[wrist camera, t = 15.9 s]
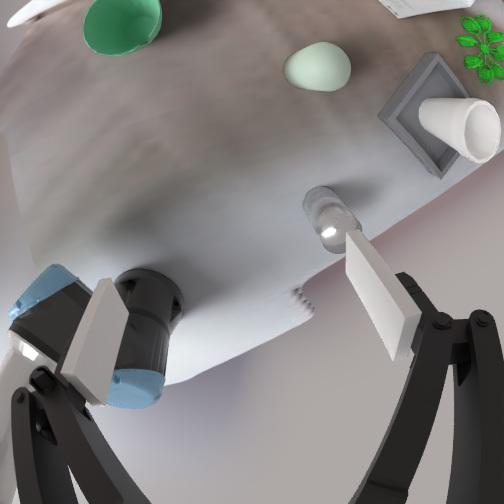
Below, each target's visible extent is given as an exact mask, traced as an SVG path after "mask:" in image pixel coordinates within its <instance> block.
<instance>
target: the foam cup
mask: <svg viewBox="0 0 504 504" xmlns="http://www.w3.org/2000/svg"><path fill="white" fill-rule="evenodd" d="M419 120H420V123H421V125H422V126H423V127H424V129H425V130H427V131H428V132H430V133H431V134H433V135H434V136H436V137H437V138H439V139H441V140H442V141H444V142H445V143H447V144H448V145H449V146H451V147H452V148H454V149H455V150H457V151H458V152H459V154H460V155H462V156H464V157H466V158H468V159H470V160H472V161H474V162H476V163H478V164H479V163H484V162H487V161H488V160H489V159H491V158H492V157H493V156H494V155H495V153H496V150H497V148H498V146H499V144H500V137H501V125H500V119H499V116H498V114H497V112H496V110H495V108H494V107H493V106H492V105H491V104H489V103H488V102H487V101H484V100H481V99H477V98H466V99H460V98H427V99H426V100H425V101H423V102H422V104H421V106H420V108H419Z"/></svg>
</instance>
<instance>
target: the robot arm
mask: <svg viewBox="0 0 504 504" xmlns="http://www.w3.org/2000/svg"><path fill="white" fill-rule="evenodd" d="M346 274H347V276H348V278H349V280H350V281H351V283H352V285H353V287H354V288H355V290H356V292H357V294H358V296H359V297H360V299H361V301H362V303H363V305H364V306H365V308H366V310H367V311H368V314H369V316H370V318H371V320H372V321H373V323H374V325H375V327H376V329H377V331H378V333H379V335H380V337H381V338H382V340H383V342H384V344H385V346H386V348H387V350H388V352H389V354H390V356H391V358H392V360H393V361H396V360H399V359H402V358H405V357H407V356H408V355H409V352H410V349H412V351H413V352H414V354H415V355H414V358H413V361H412V363H411V366H410V371H409V373H408V376H407V380H406V383H405V385H404V388H403V391H402V394H401V396H400V399H399V402H398V404H397V407H396V409H395V412H394V415H393V417H392V419H391V422H390V424H389V426H388V429H387V431H386V433H385V435H384V438H383V440H382V442H381V444H380V447H379V449H378V451H377V453H376V455H375V457H374V459H373V461H372V463H371V465H370V467H369V469H368V471H367V472H366V475H365V476H364V478H363V480H362V482H361V484H360V485H359V487H358V489H357V491H356V492H355V494H354V496H353V497H352V499H351V500H350V502H349V503H348V504H405V503H406V500H407V497H408V489H409V486H410V484H411V481H412V479H413V477H414V475H415V472H416V470H417V467H418V465H419V462H420V460H421V457H422V455H423V452H424V449H425V447H426V444H427V441H428V438H429V435H430V432H431V429H432V426H433V423H434V420H435V416H436V413H437V410H438V406H439V403H440V399H441V395H442V391H443V387H444V383H445V379H446V374H447V370H448V365H452V364H453V376H454V377H453V378H454V439H453V454H452V465H451V475H450V482H449V490H448V496H447V501H446V504H504V359H503V354H502V349H501V344H500V340H499V336H498V331H497V327H496V323H495V320H494V318H493V316H492V315H491V314H490V313H489V312H487V311H485V310H475V311H473V312H472V313H471V315H470V317H469V319H457V320H455V319H453V318H452V317H450V316H449V315H448V314H446V313H444V312H438V311H437V309H436V308H435V307H434V305H433V304H432V303H431V301H430V300H429V298H428V297H427V296H426V294H425V293H424V292H422V289H421V288H420V287H419V286H418V284H417V283H416V282H415V280H414V279H413V278H412V277H411V276H409V275H408V274H406V273H405V272H402V273H398V274H394V273H393V272H392V271H391V269H390V268H389V266H388V265H387V264H386V263H385V261H384V260H383V259H382V258H381V256H380V255H379V254H378V252H377V251H376V250H375V248H374V247H373V246H372V245H371V244H370V242H369V241H368V240H367V238H366V237H365V236H364V235H363V234H362V232H361V231H360V230H359V229H357V230H352V231H347V232H346ZM79 279H80V278H79V277H76V276H74V275H73V274H72V273H71V272H69V271H68V270H67V269H66V268H65V267H63V266H62V265H60V264H52V265H50V266H49V267H48V268H46V269H45V270H44V271H43V272H42V273H41V274H40V275H39V277H38V278H37V279H36V280H35V281H34V282H33V283H32V284H31V285H30V286H29V287H28V288H27V290H26V291H25V292H24V293H23V294H22V295H21V297H20V298H19V299H18V300H17V301H16V303H15V304H14V305H13V306H12V307H11V308H10V310H9V311H8V316H9V319H10V320H11V321H13V323H12V325H11V327H10V328H9V330H8V337H9V342H10V349H9V351H8V353H7V355H6V356H5V358H4V360H3V363H2V364H1V366H0V504H12V501H13V497H14V494H15V491H16V487H17V488H18V493H19V499H20V504H78V501H77V497H76V494H75V490H74V487H73V484H72V480H71V476H70V472H69V468H70V470H71V472H72V474H73V476H74V478H75V480H76V481H77V483H78V485H79V487H80V489H81V491H82V492H83V494H84V496H85V498H86V499H87V501H88V503H89V504H151V503H150V501H149V500H148V499H147V498H146V496H145V495H144V494H143V493H142V492H141V490H140V489H139V487H138V486H137V485H136V483H135V482H134V481H133V480H132V478H131V477H130V476H129V474H128V473H127V471H126V470H125V469H124V467H123V465H122V464H121V463H120V461H119V460H118V459H117V457H116V455H115V454H114V452H113V451H112V449H111V448H110V446H109V444H108V443H107V441H106V440H105V438H104V436H103V435H102V433H101V431H100V430H99V428H98V426H97V424H96V423H95V421H94V419H93V417H92V415H91V414H90V412H89V410H88V409H87V408H86V407H85V403H86V400H87V401H88V402H89V403H90V404H91V405H92V406H96V407H105V406H106V404H108V405H111V406H115V407H119V408H126V409H139V408H146V407H149V406H152V405H154V404H155V403H156V402H158V400H159V399H160V397H161V395H162V390H163V385H164V383H165V372H166V363H167V355H168V347H169V339H170V335H171V334H172V332H173V331H174V329H175V327H176V326H177V324H178V323H179V321H180V319H181V317H182V313H183V306H184V301H183V296H182V294H181V292H180V290H179V288H178V287H177V286H176V285H175V284H174V283H173V282H172V281H171V280H170V279H169V278H167V277H165V276H164V275H162V274H160V273H157V272H154V271H151V270H145V269H136V270H130V271H127V272H125V273H123V274H121V275H120V276H119V277H117V279H116V280H115V281H114V283H113V282H112V280H111V278H106V279H101V280H99V282H98V284H97V286H96V288H95V290H94V292H93V291H91V290H90V289H89V288H88V287H87V286H86V285H85V284H84V283H83V282H81V281H80V280H79ZM68 466H69V468H68Z"/></svg>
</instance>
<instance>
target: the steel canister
mask: <svg viewBox="0 0 504 504" xmlns="http://www.w3.org/2000/svg"><path fill="white" fill-rule="evenodd" d="M303 208H304V211H305V213H306V215H307V216H308V218H309V220H310V222H311V224H312V225H313V227H314V229H315V231H316V233H317V235H318V236H319V238H320V240H321V242H322V244H323V246H324V247H325V248H326V250H328V251H329V252H331V253H335V254H341V253H345V252H346V232H347V231H352V230H357V229H359V230H360V231H361V232H362V226H361V224H360V222H359V221H358V220H357V218H356V217H355V216H354V215H353V214H352V212H351V211H350V210H349V209H348V208H347V206H346V205H345V204H344V203H343V202H342V201H341V200H340V198H339V197H338V196H337V195H336V194H335V193H334V191H333V190H331V189H330V188H328V187H324V186H320V187H316V188H313V189H312V190H310V191H309V192H308V193H307V194H306V196H305V198H304V201H303Z"/></svg>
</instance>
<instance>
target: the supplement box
mask: <svg viewBox="0 0 504 504" xmlns="http://www.w3.org/2000/svg"><path fill="white" fill-rule="evenodd" d="M379 1H380V2H381V3H382V4H383V5H384V6H385V7H386V8H387V9H389V10H390V11H391V12H392V13H393V14H394V15H395V16H396V17H397V18H398V19H401V18H405V17H410V16H414V15H420V14H425V13H430V12H437V11H443V10H450V9H458V8H467V7H471V6H472V4H473V3H474V1H475V0H379Z"/></svg>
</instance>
